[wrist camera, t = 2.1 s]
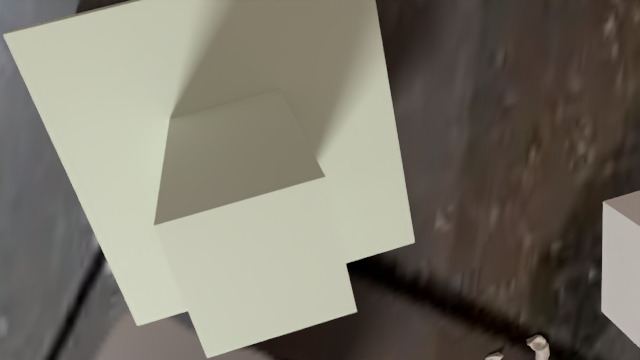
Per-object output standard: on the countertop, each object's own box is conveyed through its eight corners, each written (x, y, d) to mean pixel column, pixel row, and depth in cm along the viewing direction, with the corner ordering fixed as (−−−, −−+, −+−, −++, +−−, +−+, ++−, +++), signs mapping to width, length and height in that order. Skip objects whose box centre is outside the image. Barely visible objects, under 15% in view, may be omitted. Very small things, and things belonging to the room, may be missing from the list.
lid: (142, 292, 25) (109, 507, 16) (24, 23, 20) (-133, 104, 10) (396, 216, 26) (508, 375, 17) (348, -57, 21) (472, -49, 11)
